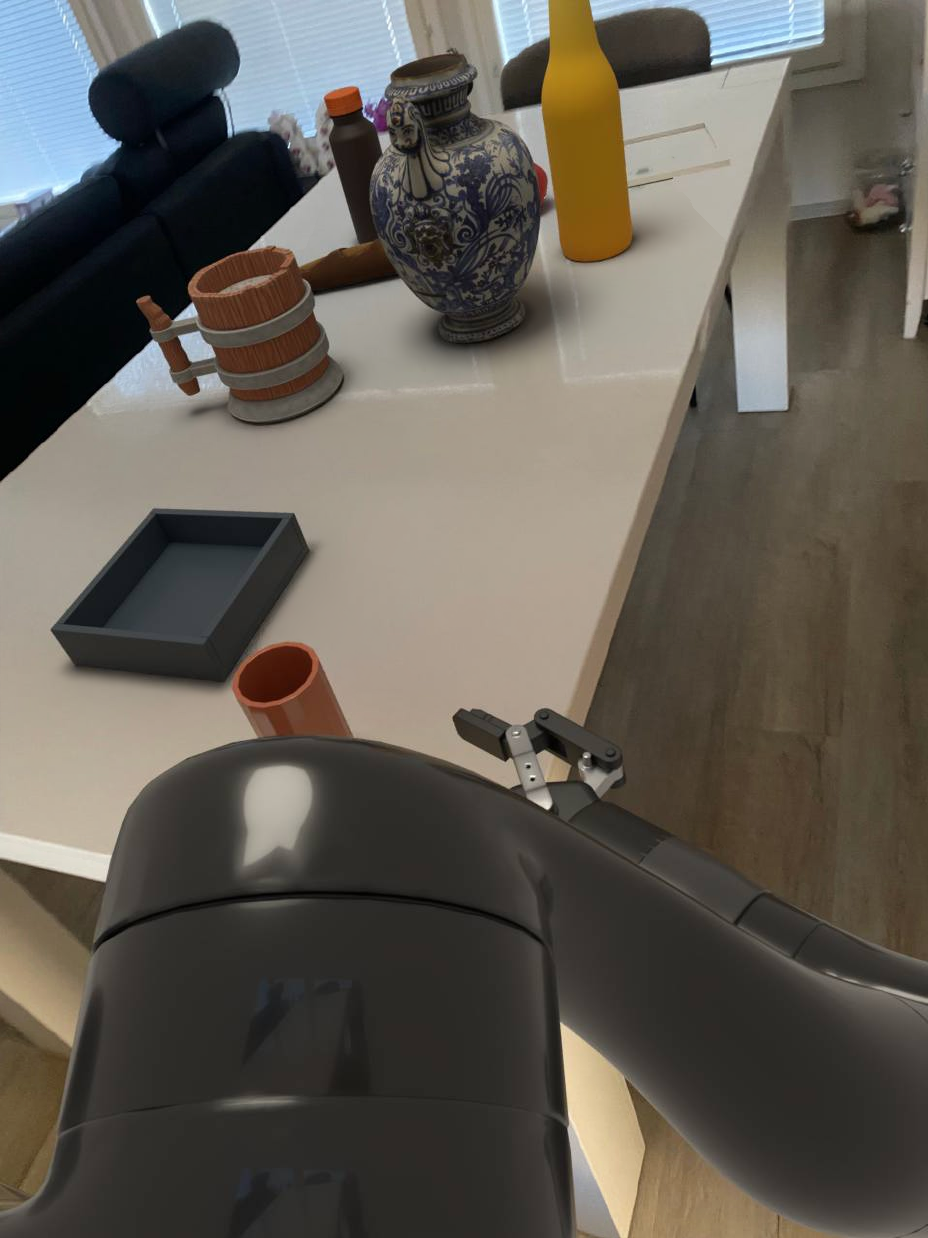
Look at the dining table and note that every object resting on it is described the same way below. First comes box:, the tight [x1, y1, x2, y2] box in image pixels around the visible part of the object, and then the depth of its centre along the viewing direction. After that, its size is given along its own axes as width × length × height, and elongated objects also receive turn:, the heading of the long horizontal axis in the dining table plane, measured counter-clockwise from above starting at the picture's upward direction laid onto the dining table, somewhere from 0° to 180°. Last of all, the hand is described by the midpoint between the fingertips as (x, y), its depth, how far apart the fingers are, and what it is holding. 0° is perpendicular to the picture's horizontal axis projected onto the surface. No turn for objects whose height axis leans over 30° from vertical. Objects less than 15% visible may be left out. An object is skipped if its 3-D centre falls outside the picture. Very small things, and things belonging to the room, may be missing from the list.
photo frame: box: [624, 123, 731, 188], centre depth 141 cm, size 15×1×18 cm
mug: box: [136, 245, 344, 424], centre depth 107 cm, size 14×19×15 cm
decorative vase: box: [369, 46, 542, 344], centre depth 105 cm, size 21×19×28 cm
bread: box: [298, 238, 399, 292], centre depth 130 cm, size 38×5×5 cm, turn 91°
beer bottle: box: [540, 0, 633, 263], centre depth 114 cm, size 9×9×29 cm
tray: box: [49, 507, 310, 682], centre depth 84 cm, size 17×16×4 cm
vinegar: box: [323, 85, 384, 245], centre depth 136 cm, size 7×7×20 cm
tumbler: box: [231, 641, 355, 738], centre depth 64 cm, size 6×6×11 cm
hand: (410, 771), depth 55 cm, fingers open, 8 cm apart
